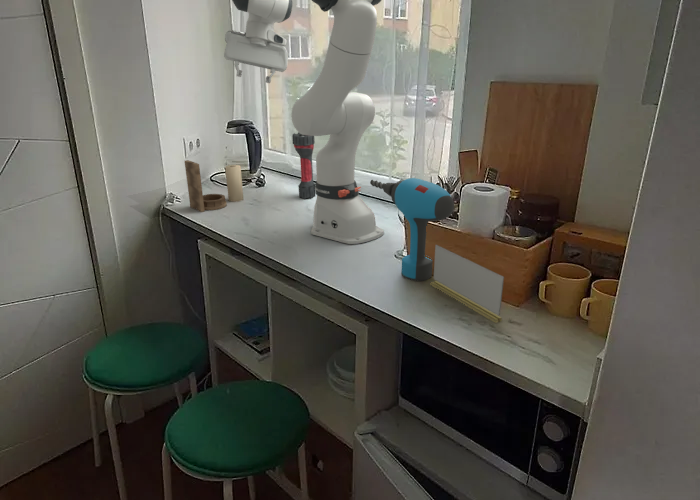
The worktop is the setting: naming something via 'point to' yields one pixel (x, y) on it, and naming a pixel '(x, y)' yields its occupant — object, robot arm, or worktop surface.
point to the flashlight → (305, 164)
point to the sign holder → (468, 283)
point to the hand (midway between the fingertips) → (253, 79)
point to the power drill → (418, 219)
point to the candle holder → (195, 191)
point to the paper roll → (234, 183)
